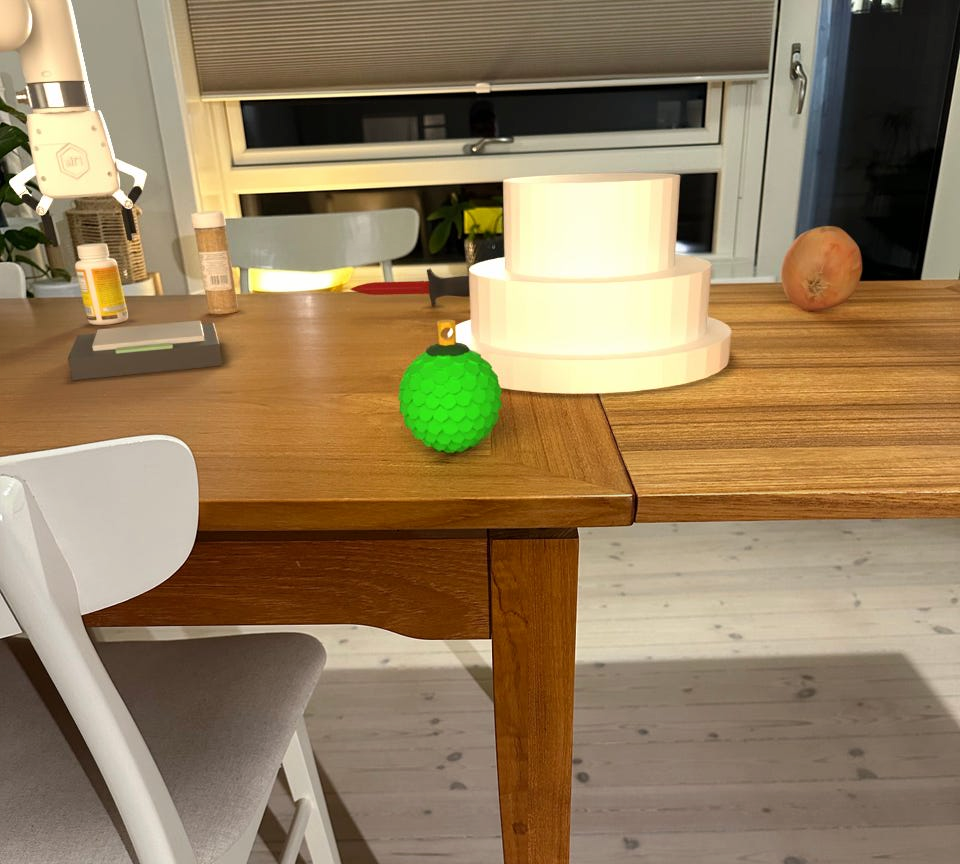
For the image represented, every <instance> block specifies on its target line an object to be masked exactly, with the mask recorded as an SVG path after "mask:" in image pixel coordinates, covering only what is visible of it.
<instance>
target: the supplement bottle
mask: <svg viewBox="0 0 960 864" xmlns="http://www.w3.org/2000/svg"><path fill="white" fill-rule="evenodd" d="M76 249H77V255H78V259H80V260H78V261H76V262H75V264H74V268H75V273H76V277H77V282H78V285H79V286H78V287H79V290H80V294H81V299H82V303H83V307H84V311H85V315H86V320H87V322H88V323H89V324H90V325H94V326H109V325H110V326H111V325H117V324H121V323H125V322H126V321H128V319H129V313H128V308H127V303H126V299H125V294H124V290H123V284H122V281H121V275H120V270H119V266H118V262H117V260H116V259H115V258H113V257H110V251H109V248H108V244H107V243H86V244H80V245H77V246H76Z"/></svg>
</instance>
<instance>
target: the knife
mask: <svg viewBox="0 0 960 864" xmlns="http://www.w3.org/2000/svg"><path fill="white" fill-rule="evenodd" d="M426 275H427V280H412V281H408V280H407V281H376V282H367V283H363V284H360V285H359V284H358V285H356V286H354V287H351V288H350V289H349V290H350V291H353V292H356V293H359V294H364V295H371V296H388V295H391V296H392V295H395V296H397V295H425V294H426V295H429V299H430V304H431V307H434V306H435V305H436V304H437V303H436V301H437V299H438V298H441V297H465V298H467V297H468V298H470V286H469V275H459V276H450V277H449V276H448V277H442V276H438V275H437V274H436V273H434V272H433V270H432V268H427V269H426Z"/></svg>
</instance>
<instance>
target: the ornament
mask: <svg viewBox="0 0 960 864" xmlns="http://www.w3.org/2000/svg"><path fill="white" fill-rule="evenodd" d="M436 324H437V335H438V342H437V343H433V344H431V345H429V346H428V347H427V348H425V351H423V353H421V354H419V355H417V357H415V358H414V359H413V360H412V361H411V364H410V365H408V366H407V367H406V370H404V372H403V374H402V379H401V380H400V384H399V386H398V390H399V393H398V395H397V398H398V402H399V413H400V414H402V416H403V421H404V425H405V428H407V429H410V430H411V433H412V435H413V437H414V438H415V439H416V440H419V439H420V440H421V442H422V444H423V445H424V446H426V447H429V448H431V447H432V448H433V449H434V450H435V451H438V452H442V451H443V452H445V453H455V452H459V453H460V452H461V453H462V452H463V451H466V450H468V449H469V448H470V447H471V448H472V447H475V446H477V445H478V444H480V443H481V442H482V440H483V438H487V437H488V436H489V435H490V434H491V433H492V432H493V428H494V426H495V425H497V423H498V420H500V419H499V418H500V417H499V410H502V409H503V402H502V398H501V394H502V393H503V390H502V389H503V388H501V387H500V385H499V383H498V382H499V380H498V376H497V374H496V373H495V372H494V371H493V370H492V366H491V365H490V363H488V362H487V361H486V360H484V359H483V358H481V355H480V354H479V353H477V352H475V351H472V350H470V349H469V347H468V346H467V345H465V344H463V343H458V342H456V325H457V324H456V320H454V319H440V320H437V321H436ZM446 328H449V329H451V328H452V330H453V333H452V335H451V336H450V337H448V336H447V337H443V336H442V335H441V334H442V331H443V330H444V329H446Z"/></svg>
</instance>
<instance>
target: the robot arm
mask: <svg viewBox="0 0 960 864" xmlns="http://www.w3.org/2000/svg"><path fill="white" fill-rule="evenodd" d="M12 52H17V53H18V57H19V61H20V65H21V66H20V67H21V69H22V75H23V77H24V82H25V88H24V89H22V90H21V91H15V95H16V100H17V103H18V104H19V105H20V104H24V105H28V107H30V109H31V111H32V113H27V114H26V125H27V126H26V127H27V134H28V141H29V148H30V153H31V158H32V161H33V163H32V164H30V165H29V166H28V167H26V168H24V169H23V170H22V171H21V172H19V173H18V174H16V175H15V176H14V177H12V178H10V179H9V182H8V183H9V185H10V187H11V188H12V189H13V191H14V192H15V193H16V195H18V197H19V198H20V200H21V201H22V202H23V203H24V204H25V205H27V207H29V208H31V209H32V210H33V211H34V212H36V213H37V214H38V215H39V216H40V219H41V223H42V227H43V231H44V235H45V239H46V241H51V243H52V247H53V248H58V247H59V246H61V240H60V239H61V238H60V235H59V231H58V227H57V223H56V218H55V214H53V212H52V211H51V207H52V205H53V203H54V201H55V200H56V199H59V200H60V199H72V198H73V199H74V198H88V197H103V196H109V195H111V196H112V197H114V199H116V200H117V202H119V203H120V204H121V209H120V213H121V217H122V222H123V227H124V232H125V237H126V240H127V241H129V242H133V241H134V234H135V235H136V234H138V231H137V225H136V220H135V215H134V211H133V207H134V205H135V204H136V202H137V201H138V199H139V198H140V197H141V195H142V193H143V190H144V187H145V183H146V180H147V177H148V174H147V172H146V170H144V169H142V168H140V167H137V166H135V165H133V164H131V163H128V162H127V161H123V160H122V159H119V158H117V157H116V156H115V152H114V148H113V144H112V141H111V138H110V134H109V131H108V128H107V125H106V122H105V119H104V117H103V114H102V112H101V110H96V109H95V107H94V102H93V97H92V93H91V87H90V82H89V80H88V79H89V78H88V75H87V74H88V73H87V69H86V65H85V61H84V56H83V52H82V47H81V41H80V37H79V32H78V27H77V23H76V17H75V13H74V8H73V4H72V0H0V54H3V53H12ZM119 171H121V172H122V173H125V174H127V175H129V176H132V177H133V178H134V183H133V187H132V188H131V190H130V191H129V193H128V194H127V193H126V192H124V190H122V189H121V188H120V187H121V180H120V179H121V178H120V172H119ZM34 177H36V181H37V185H38V189H39V191H40V194H41V195H42V197H41V199H40V200H39V199H37V198H36V197H35V196H33V194H31V193H30V192H29V190H28V189H27V188H26V183H28V182H29V181H30V180H32V179H33V178H34Z"/></svg>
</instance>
